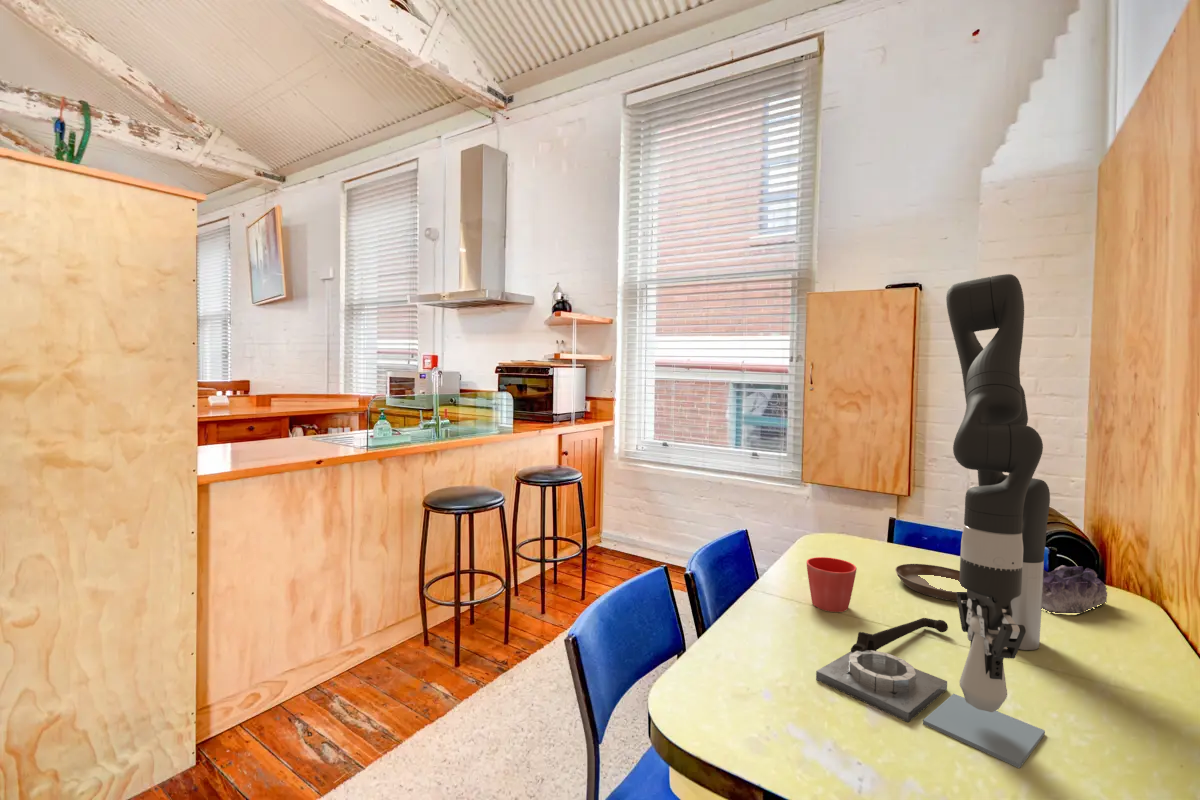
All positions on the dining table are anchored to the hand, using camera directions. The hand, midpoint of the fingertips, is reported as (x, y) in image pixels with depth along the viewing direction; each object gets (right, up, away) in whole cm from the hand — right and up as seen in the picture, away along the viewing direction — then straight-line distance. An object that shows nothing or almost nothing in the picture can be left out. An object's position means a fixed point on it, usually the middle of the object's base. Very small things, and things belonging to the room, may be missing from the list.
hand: (985, 672), depth 83 cm
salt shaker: (0, -5, 0) cm, 5 cm away
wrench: (+1, -7, +25) cm, 26 cm away
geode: (+54, -8, +49) cm, 73 cm away
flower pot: (-4, -7, +46) cm, 46 cm away
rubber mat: (0, -8, 0) cm, 8 cm away
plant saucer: (+29, -8, +58) cm, 65 cm away
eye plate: (-10, -8, +12) cm, 17 cm away
